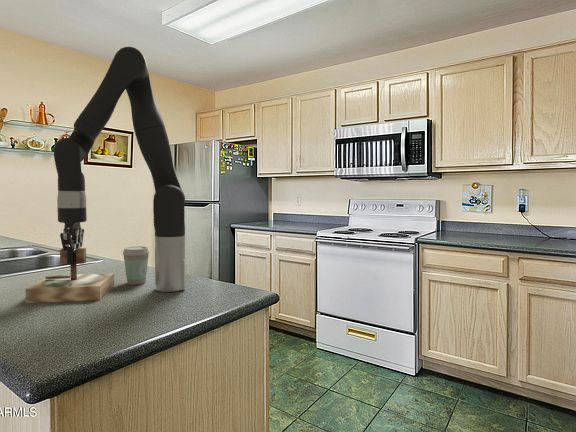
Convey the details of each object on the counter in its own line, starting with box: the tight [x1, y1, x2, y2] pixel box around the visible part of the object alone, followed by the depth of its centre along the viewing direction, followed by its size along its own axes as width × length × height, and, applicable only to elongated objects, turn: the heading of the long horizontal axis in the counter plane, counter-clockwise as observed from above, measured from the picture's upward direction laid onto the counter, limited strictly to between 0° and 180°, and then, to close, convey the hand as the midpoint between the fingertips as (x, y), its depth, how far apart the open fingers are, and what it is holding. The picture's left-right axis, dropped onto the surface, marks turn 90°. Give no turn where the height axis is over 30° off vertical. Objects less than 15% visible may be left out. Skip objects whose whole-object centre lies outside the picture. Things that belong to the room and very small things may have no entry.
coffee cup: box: [122, 246, 150, 286], centre depth 127 cm, size 8×8×12 cm
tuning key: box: [44, 247, 87, 280], centre depth 113 cm, size 11×2×9 cm, turn 102°
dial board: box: [25, 273, 115, 304], centre depth 114 cm, size 19×17×4 cm
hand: (73, 263), depth 113 cm, fingers closed on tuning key, 2 cm apart
